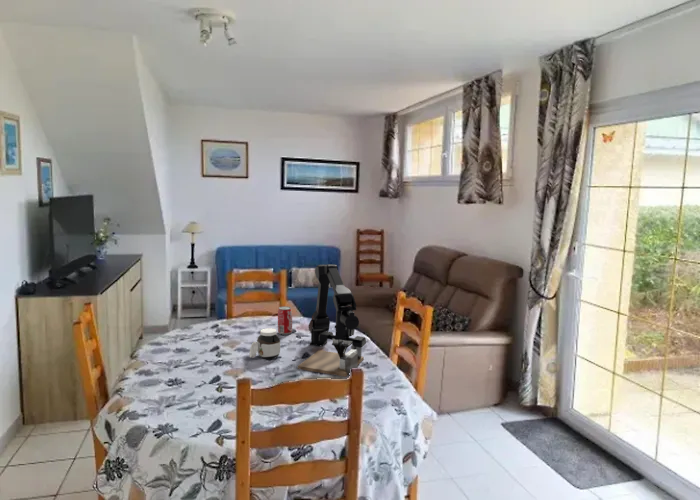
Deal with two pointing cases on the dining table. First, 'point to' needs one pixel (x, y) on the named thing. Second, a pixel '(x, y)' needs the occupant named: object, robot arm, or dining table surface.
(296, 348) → the dining table surface
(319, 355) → the frame
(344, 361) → the latch bar
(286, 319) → the soda can
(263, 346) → the spread jar
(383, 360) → the dining table surface
